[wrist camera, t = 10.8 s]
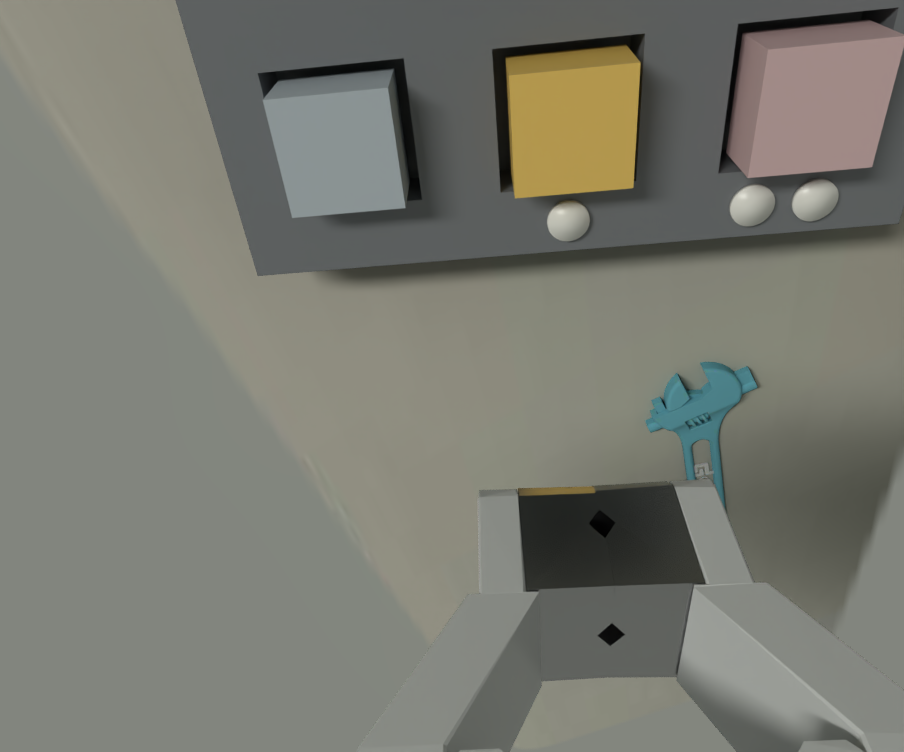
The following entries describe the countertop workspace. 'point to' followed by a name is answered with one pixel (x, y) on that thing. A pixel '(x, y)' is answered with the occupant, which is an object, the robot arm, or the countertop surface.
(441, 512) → the countertop surface
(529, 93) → the button one
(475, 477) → the countertop surface
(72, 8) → the countertop surface
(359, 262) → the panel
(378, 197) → the button none
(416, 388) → the countertop surface
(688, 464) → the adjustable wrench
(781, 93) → the button two
